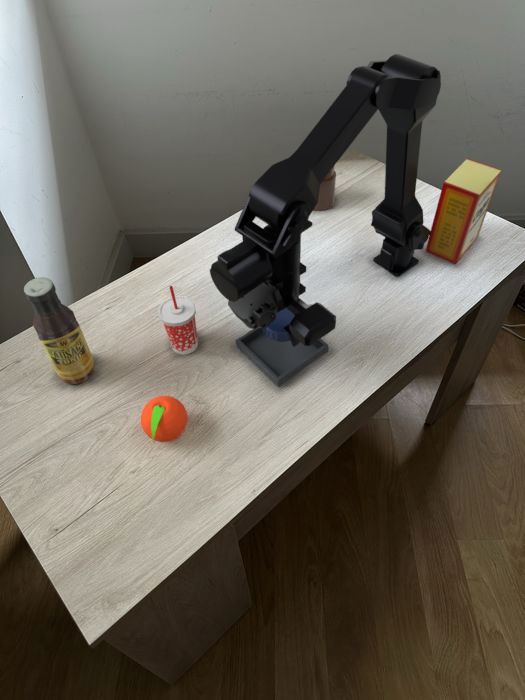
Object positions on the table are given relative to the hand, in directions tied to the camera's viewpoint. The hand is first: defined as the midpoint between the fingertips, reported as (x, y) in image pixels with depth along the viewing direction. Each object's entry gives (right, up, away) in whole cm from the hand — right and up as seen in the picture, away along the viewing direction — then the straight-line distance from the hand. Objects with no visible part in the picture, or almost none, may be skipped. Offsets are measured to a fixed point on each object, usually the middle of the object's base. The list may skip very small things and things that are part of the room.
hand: (281, 332), depth 86 cm
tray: (0, -3, +3) cm, 4 cm away
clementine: (-18, -16, -6) cm, 25 cm away
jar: (+9, +30, +29) cm, 43 cm away
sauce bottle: (-34, -7, +2) cm, 35 cm away
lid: (0, +2, -3) cm, 3 cm away
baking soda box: (+35, +18, +18) cm, 43 cm away
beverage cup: (-17, -2, +5) cm, 18 cm away
